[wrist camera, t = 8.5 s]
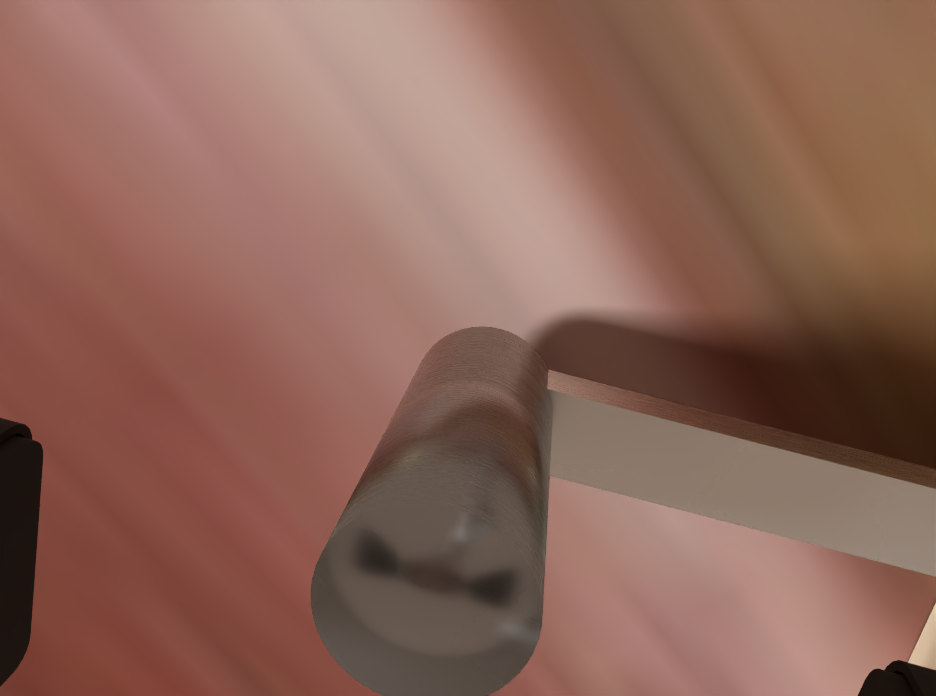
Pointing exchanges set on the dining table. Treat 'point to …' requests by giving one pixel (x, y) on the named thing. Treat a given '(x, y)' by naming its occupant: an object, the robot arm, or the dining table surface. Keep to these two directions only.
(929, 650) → the tunnel
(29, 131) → the dining table surface
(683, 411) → the slider
